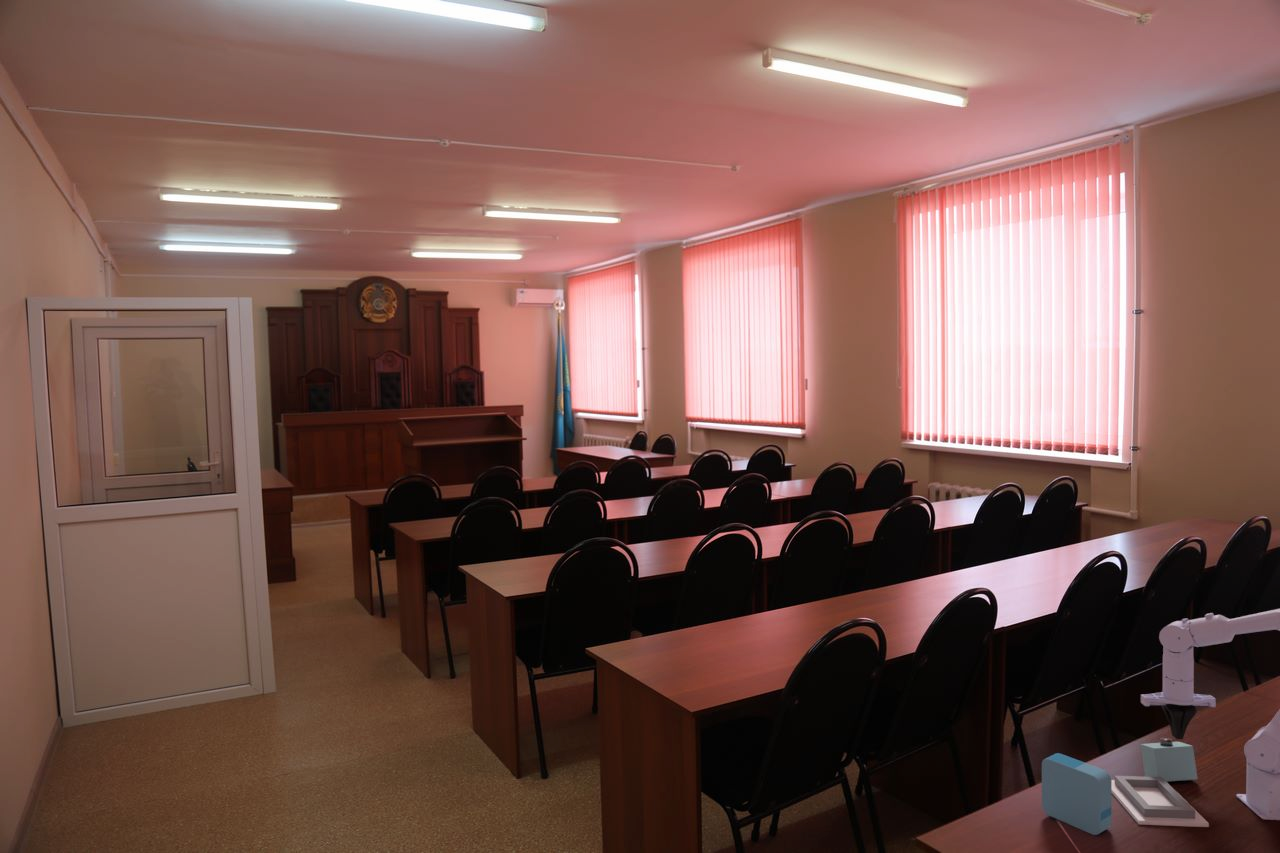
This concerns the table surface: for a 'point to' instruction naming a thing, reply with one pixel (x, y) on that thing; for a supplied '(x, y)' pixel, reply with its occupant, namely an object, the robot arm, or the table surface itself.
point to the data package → (1076, 793)
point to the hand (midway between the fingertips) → (1177, 737)
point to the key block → (1169, 760)
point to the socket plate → (1154, 802)
